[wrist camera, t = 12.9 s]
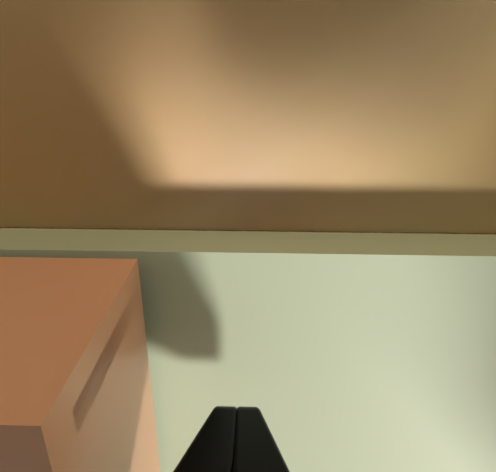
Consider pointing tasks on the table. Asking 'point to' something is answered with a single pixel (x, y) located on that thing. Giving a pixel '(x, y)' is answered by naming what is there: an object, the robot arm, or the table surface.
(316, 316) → the board
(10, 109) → the table surface
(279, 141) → the table surface
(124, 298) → the cover
